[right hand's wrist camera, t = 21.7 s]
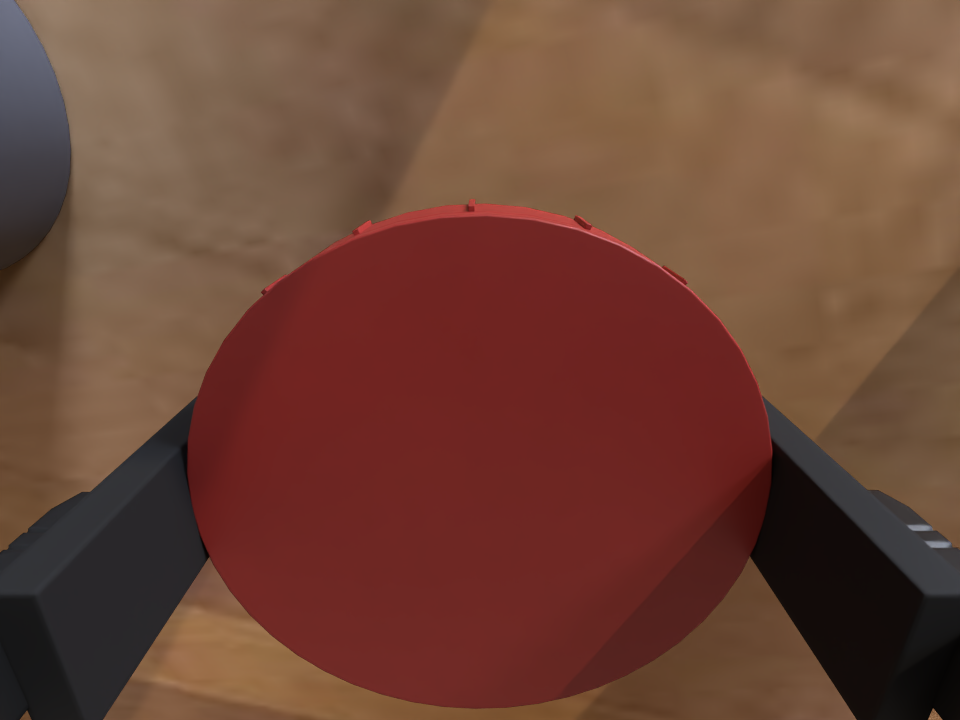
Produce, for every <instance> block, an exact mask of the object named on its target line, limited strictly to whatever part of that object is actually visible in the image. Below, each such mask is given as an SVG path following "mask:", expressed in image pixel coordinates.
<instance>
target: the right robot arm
mask: <svg viewBox="0 0 960 720" xmlns="http://www.w3.org/2000/svg"><path fill="white" fill-rule="evenodd" d="M761 396H762V395H761ZM196 399H197V397H196V398H195V399H194V400H192V401H191V402H190V403H189V404H188V405H187V406H186V407H185V408H184V409H182V410H181V411H180V412H179V413H178V414H177V415H176V416H175V417H173V418H172V419H171V420H170V421H169V422H168V423H167V424H166V425H165V426H163V427H162V428H161V429H160V430H159V431H158V432H157V433H156V434H154V435H153V436H152V437H151V438H150V439H149V440H148V441H147V442H146V443H144V444H143V445H142V446H141V447H140V448H139V449H138V450H137V451H135V452H134V453H133V454H132V455H131V456H130V457H129V458H128V459H127V460H125V461H124V462H123V463H122V464H121V465H120V466H119V467H118V468H116V469H115V470H114V471H113V472H112V473H111V474H110V475H109V476H108V477H106V478H105V479H104V480H103V481H102V482H101V483H100V484H99V485H98V486H96V487H95V488H94V489H93V490H92V491H91V492H81V493H79V494H78V495H76V496H74V497H72V498H70V499H69V500H67V501H65V502H63V503H61V504H59V505H58V506H56V507H54V508H52V509H51V510H50V511H48V512H47V513H46V514H45V515H44V516H43V517H41V518H40V519H39V520H38V521H37V522H36V523H34V524H33V525H32V526H31V527H30V528H29V529H28V532H27V533H23V534H21V535H20V536H19V537H18V538H17V539H16V540H14V541H13V542H12V543H11V544H10V545H9V548H8V550H3V551H2V552H0V720H20V718H21V717H22V716H23V715H24V713H25V712H26V711H27V710H28V713H29V715H30V717H31V719H32V720H103V719H104V717H105V715H106V714H107V712H108V711H109V709H110V708H111V706H112V705H113V703H114V702H115V700H116V699H117V697H118V696H119V694H120V693H121V691H122V689H123V688H124V686H125V685H126V683H127V682H128V680H129V679H130V677H131V676H132V674H133V673H134V671H135V670H136V668H137V667H138V665H139V663H140V662H141V660H142V659H143V657H144V656H145V654H146V653H147V651H148V650H149V648H150V647H151V645H152V644H153V642H154V641H155V639H156V637H157V636H158V634H159V633H160V631H161V630H162V628H163V627H164V625H165V624H166V622H167V621H168V619H169V618H170V616H171V615H172V613H173V611H174V610H175V608H176V607H177V605H178V604H179V602H180V601H181V599H182V598H183V596H184V595H185V593H186V592H187V590H188V589H189V587H190V585H191V584H192V582H193V581H194V579H195V578H196V576H197V575H198V573H199V572H200V570H201V569H202V567H203V566H204V564H205V563H206V561H207V559H208V558H209V554H208V552H207V550H206V548H205V545H204V543H203V541H202V539H201V537H200V534H199V530H198V527H197V523H196V519H195V515H194V511H193V507H192V502H191V497H190V492H189V485H188V477H187V452H188V436H189V431H190V425H191V420H192V415H193V409H194V405H195V402H196ZM762 399H763V402H764V406H765V409H766V412H767V415H768V422H769V430H770V437H771V444H772V483H771V488H770V494H769V499H768V503H767V508H766V512H765V517H764V520H763V524H762V527H761V530H760V533H759V536H758V539H757V542H756V545H755V547H754V549H753V551H752V553H751V555H750V557H751V558H752V560H753V562H754V563H755V565H756V566H757V568H758V569H759V571H760V572H761V574H762V575H763V577H764V578H765V580H766V581H767V583H768V584H769V586H770V588H771V589H772V591H773V592H774V594H775V595H776V597H777V598H778V600H779V601H780V603H781V604H782V606H783V607H784V609H785V610H786V612H787V614H788V615H789V617H790V618H791V620H792V621H793V623H794V624H795V626H796V627H797V629H798V630H799V632H800V633H801V635H802V636H803V638H804V640H805V641H806V643H807V644H808V646H809V647H810V649H811V650H812V652H813V653H814V655H815V656H816V658H817V659H818V661H819V662H820V664H821V666H822V667H823V669H824V670H825V672H826V673H827V675H828V676H829V678H830V679H831V681H832V682H833V684H834V685H835V687H836V688H837V690H838V692H839V693H840V695H841V696H842V698H843V699H844V701H845V702H846V704H847V705H848V707H849V708H850V710H851V711H852V713H853V714H854V716H855V718H856V719H857V720H928V718H929V716H930V714H931V711H932V709H933V708H934V709H935V711H936V712H937V713H938V714H939V716H940V717H941V718H942V719H943V720H960V550H959V549H958V548H953V547H952V543H951V542H949V541H948V540H947V539H946V538H945V537H944V536H942V535H941V534H940V533H939V532H938V531H933V530H932V526H931V525H929V524H928V523H927V522H926V521H925V520H924V519H922V518H921V517H920V516H919V515H918V514H916V513H915V512H914V511H913V510H912V509H911V508H909V507H908V506H906V505H904V504H902V503H901V502H899V501H897V500H895V499H893V498H891V497H890V496H888V495H886V494H884V493H882V492H881V491H879V490H867V489H865V488H864V487H863V486H862V485H861V484H860V483H859V482H858V481H857V480H855V479H854V478H853V477H852V476H851V475H850V474H849V473H848V472H846V471H845V470H844V469H843V468H842V467H841V466H840V465H839V464H838V463H836V462H835V461H834V460H833V459H832V458H831V457H830V456H829V455H827V454H826V453H825V452H824V451H823V450H822V449H821V448H820V447H819V446H817V445H816V444H815V443H814V442H813V441H812V440H811V439H810V438H808V437H807V436H806V435H805V434H804V433H803V432H802V431H801V430H800V429H798V428H797V427H796V426H795V425H794V424H793V423H792V422H791V421H790V420H788V419H787V418H786V417H785V416H784V415H783V414H782V413H781V412H779V411H778V410H777V409H776V408H775V407H774V406H773V405H772V404H771V403H769V402H768V401H767V400H766V399H765V398H764V397H763V396H762Z"/></svg>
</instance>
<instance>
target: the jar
mask: <svg viewBox="0 0 960 720" xmlns="http://www.w3.org/2000/svg"><path fill="white" fill-rule="evenodd" d="M70 156H71V147H70V135H69V125H68V120H67V115H66V110H65V105H64V100H63V97H62V94H61V91H60V88H59V85H58V82H57V79H56V76H55V73H54V71H53V68H52V66H51V64H50V61H49V59H48V57H47V55H46V52H45V50H44V48H43V46H42V44H41V42H40V41H39V39H38V37H37V35H36V33H35V32H34V30H33V28H32V26H31V25H30V23H29V21H28V19H27V18H26V17H25V15H24V14H23V12H22V11H21V9H20V8H19V7H18V5H17V4H16V2H15V1H14V0H0V270H1V269H4V268H6V267H9V266H10V265H12V264H14V263H15V262H17V261H19V260H20V259H22V258H24V257H25V256H26V255H27V254H28V253H29V252H30V251H32V250H33V249H34V248H35V247H36V246H37V245H38V244H39V243H40V242H41V240H42V239H43V238H44V237H45V235H46V234H47V233H48V232H49V230H50V229H51V227H52V225H53V223H54V222H55V220H56V218H57V216H58V214H59V212H60V209H61V206H62V204H63V201H64V198H65V195H66V190H67V185H68V180H69V174H70Z"/></svg>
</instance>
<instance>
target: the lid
mask: <svg viewBox="0 0 960 720" xmlns="http://www.w3.org/2000/svg"><path fill="white" fill-rule="evenodd" d="M352 232H353V234H351V235H349V236H347V237H345V238H343V239H341V240H339V241H337V242H335V243H333V244H332V245H331V246H329V247H328V248H326V249H325V250H323V251H322V252H320V253H319V254H317V255H316V256H314V257H313V258H312V259H310V260H309V261H307V262H306V263H304V264H303V265H301V266H300V267H298V268H297V269H296V270H294V271H293V272H291V273H290V274H288V275H284V276H283V277H281V278H280V279H278V280H277V281H275V282H274V283H272V284H271V285H269V286H268V287H266V288H265V289H264V290H263V291H262V292H261V293H262V294H263V296H262V297H261V298H260V299H259V300H258V301H257V302H256V303H254V304H253V305H252V306H251V307H250V308H249V309H248V310H247V311H246V313H245V314H244V315H243V317H242V318H241V319H240V320H239V322H238V323H237V324H236V326H235V327H234V328H233V329H232V331H231V332H230V333H229V334H228V336H227V337H226V338H225V340H224V341H223V343H222V345H221V347H220V348H219V350H218V352H217V354H216V356H215V357H214V359H213V361H212V363H211V365H210V366H209V368H208V370H207V372H206V374H205V377H204V380H203V383H202V385H201V388H200V391H199V394H198V396H197V399H196V402H195V405H194V409H193V415H192V420H191V425H190V431H189V436H188V452H187V477H188V485H189V492H190V497H191V502H192V507H193V511H194V515H195V519H196V523H197V527H198V530H199V534H200V537H201V539H202V541H203V543H204V545H205V548H206V550H207V552H208V554H209V556H210V558H211V561H212V563H213V565H214V566H215V568H216V570H217V571H218V573H219V574H220V576H221V578H222V579H223V581H224V582H225V584H226V585H227V587H228V589H229V590H230V592H231V593H232V594H233V595H234V596H235V598H236V599H237V600H238V601H239V602H240V604H241V605H242V606H243V607H244V608H245V610H246V611H247V612H248V613H249V614H250V616H252V617H253V618H254V619H255V620H256V621H257V622H258V623H259V624H260V625H261V626H262V627H263V628H264V629H265V630H266V631H267V632H268V633H269V634H271V635H272V636H273V637H274V638H275V639H277V640H278V641H279V642H281V643H282V644H283V645H285V646H286V647H287V648H289V649H290V650H291V651H293V652H294V653H295V654H297V655H298V656H300V657H301V658H303V659H305V660H307V661H308V662H310V663H312V664H313V665H315V666H317V667H318V668H320V669H322V670H323V671H325V672H327V673H330V674H332V675H334V676H336V677H338V678H340V679H342V680H345V681H347V682H349V683H351V684H353V685H356V686H359V687H362V688H365V689H368V690H371V691H373V692H376V693H379V694H382V695H386V696H390V697H394V698H398V699H402V700H406V701H410V702H415V703H422V704H429V705H435V706H442V707H456V708H474V709H478V708H507V707H515V706H523V705H531V704H539V703H543V702H548V701H552V700H557V699H561V698H566V697H570V696H573V695H576V694H579V693H582V692H586V691H589V690H592V689H595V688H598V687H600V686H603V685H605V684H607V683H610V682H612V681H614V680H617V679H619V678H621V677H624V676H626V675H628V674H630V673H632V672H633V671H635V670H637V669H639V668H641V667H642V666H644V665H646V664H648V663H650V662H651V661H653V660H655V659H656V658H658V657H659V656H661V655H662V654H663V653H665V652H666V651H668V650H669V649H670V648H672V647H673V646H675V645H676V644H678V643H679V642H680V641H681V640H683V639H684V638H685V637H686V636H687V635H688V634H689V633H690V632H692V631H693V630H694V629H695V628H696V627H697V626H698V625H699V624H701V623H702V622H703V621H704V620H705V619H706V617H707V616H708V615H709V614H710V613H711V612H712V611H713V610H714V609H715V607H716V606H717V605H718V604H719V603H720V602H721V601H722V600H723V598H724V597H725V596H726V594H727V593H728V591H729V590H730V588H731V587H732V585H733V584H734V583H735V581H736V580H737V578H738V577H739V575H740V574H741V572H742V570H743V568H744V566H745V564H746V562H747V560H748V558H749V557H750V555H751V553H752V551H753V549H754V547H755V545H756V542H757V539H758V536H759V533H760V530H761V527H762V524H763V520H764V517H765V512H766V508H767V503H768V499H769V494H770V488H771V483H772V444H771V437H770V430H769V422H768V415H767V412H766V409H765V406H764V402H763V399H762V396H761V393H760V389H759V386H758V383H757V381H756V379H755V376H754V374H753V372H752V370H751V368H750V366H749V364H748V362H747V360H746V358H745V356H744V354H743V352H742V350H741V349H740V347H739V346H738V344H737V343H736V342H735V340H734V339H733V337H732V336H731V334H730V333H729V332H728V330H727V329H726V327H725V326H724V325H723V323H722V322H721V320H720V319H719V318H718V317H717V316H716V315H715V314H714V313H713V312H712V311H711V310H710V309H709V308H708V307H707V306H706V304H705V303H704V302H703V301H702V300H701V299H700V298H699V297H698V296H697V295H696V294H695V293H694V292H693V291H692V290H691V289H689V288H688V287H687V286H685V285H686V284H687V283H688V282H687V281H686V280H685V279H684V278H682V277H681V276H679V275H678V274H676V273H675V272H673V271H672V270H670V269H669V268H667V267H665V266H663V267H660V266H659V265H658V264H656V263H655V262H653V261H652V260H650V259H649V258H647V257H646V256H644V255H643V254H642V253H640V252H639V251H637V250H636V249H634V248H633V247H631V246H629V245H627V244H625V243H623V242H622V241H620V240H618V239H616V238H614V237H613V236H611V235H609V234H607V233H605V232H603V231H602V230H600V229H597V228H594V227H592V225H591V224H590V223H588V222H587V221H586V220H584V219H583V218H581V217H580V216H577V215H576V216H575V218H574V220H573V219H571V218H568V217H565V216H562V215H558V214H553V213H549V212H544V211H540V210H536V209H531V208H527V207H518V206H507V205H495V204H475V199H470V200H469V204H468V205H447V206H441V207H435V208H430V209H424V210H419V211H414V212H408V213H405V214H402V215H399V216H396V217H393V218H390V219H387V220H384V221H381V222H378V223H375V224H372V223H371V221H370V220H369V221H367V222H365V223H364V224H362V225H361V226H359V227H358V228H356V229H355V230H353V231H352Z"/></svg>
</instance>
